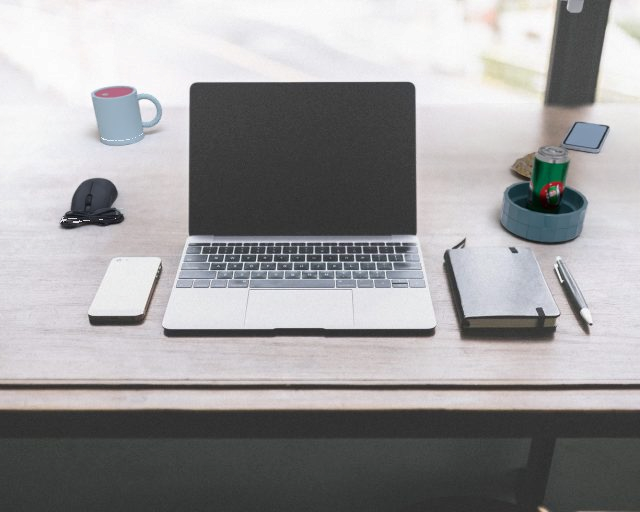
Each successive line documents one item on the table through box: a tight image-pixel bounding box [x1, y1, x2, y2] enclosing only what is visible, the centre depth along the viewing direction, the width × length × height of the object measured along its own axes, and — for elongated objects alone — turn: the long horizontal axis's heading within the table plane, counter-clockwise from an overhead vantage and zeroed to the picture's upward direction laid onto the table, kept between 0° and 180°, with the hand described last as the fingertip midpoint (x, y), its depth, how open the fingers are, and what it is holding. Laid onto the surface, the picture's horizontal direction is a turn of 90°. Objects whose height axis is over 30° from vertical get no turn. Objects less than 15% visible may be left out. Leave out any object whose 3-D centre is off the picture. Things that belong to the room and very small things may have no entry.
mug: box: [90, 85, 163, 146], centre depth 132 cm, size 14×9×10 cm
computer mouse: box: [59, 177, 125, 228], centre depth 104 cm, size 10×15×4 cm
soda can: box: [525, 145, 571, 214], centre depth 94 cm, size 5×5×12 cm
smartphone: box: [560, 121, 611, 154], centre depth 129 cm, size 7×1×15 cm
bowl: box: [499, 180, 589, 244], centre depth 96 cm, size 12×12×5 cm
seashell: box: [511, 150, 538, 179], centre depth 113 cm, size 8×6×8 cm
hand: (567, 5), depth 89 cm, fingers open, 8 cm apart
